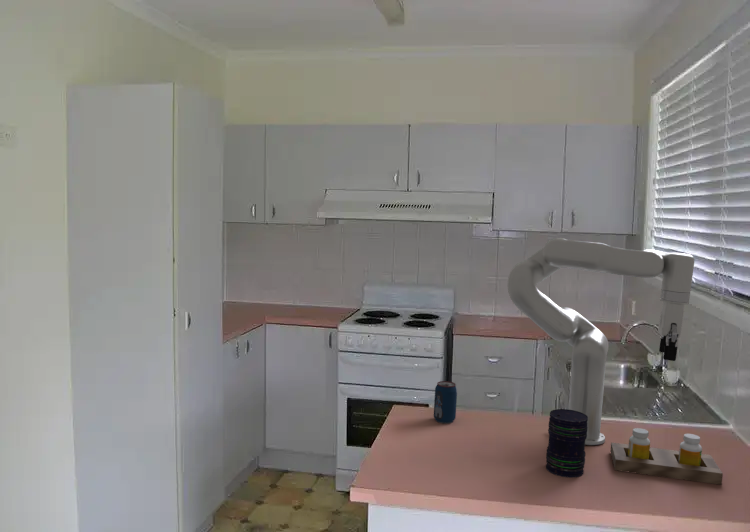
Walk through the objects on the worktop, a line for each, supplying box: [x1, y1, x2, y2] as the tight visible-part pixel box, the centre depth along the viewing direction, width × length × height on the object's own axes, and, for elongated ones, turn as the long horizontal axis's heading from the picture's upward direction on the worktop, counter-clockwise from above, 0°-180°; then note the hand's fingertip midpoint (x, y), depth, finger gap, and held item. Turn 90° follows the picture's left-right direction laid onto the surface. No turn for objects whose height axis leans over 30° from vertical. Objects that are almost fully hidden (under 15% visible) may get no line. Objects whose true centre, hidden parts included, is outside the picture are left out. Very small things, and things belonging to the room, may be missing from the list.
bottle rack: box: [609, 442, 724, 486], centre depth 180 cm, size 26×13×3 cm, turn 76°
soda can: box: [433, 380, 458, 425], centre depth 210 cm, size 7×7×12 cm
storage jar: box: [545, 408, 588, 479], centre depth 175 cm, size 10×10×15 cm
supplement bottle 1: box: [628, 427, 651, 460], centre depth 182 cm, size 5×5×10 cm
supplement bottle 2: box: [678, 433, 703, 466], centre depth 179 cm, size 5×5×10 cm
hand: (667, 356), depth 190 cm, fingers open, 9 cm apart
